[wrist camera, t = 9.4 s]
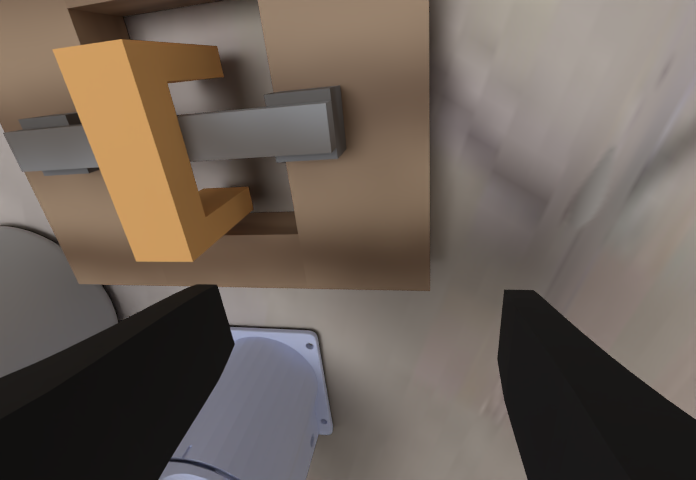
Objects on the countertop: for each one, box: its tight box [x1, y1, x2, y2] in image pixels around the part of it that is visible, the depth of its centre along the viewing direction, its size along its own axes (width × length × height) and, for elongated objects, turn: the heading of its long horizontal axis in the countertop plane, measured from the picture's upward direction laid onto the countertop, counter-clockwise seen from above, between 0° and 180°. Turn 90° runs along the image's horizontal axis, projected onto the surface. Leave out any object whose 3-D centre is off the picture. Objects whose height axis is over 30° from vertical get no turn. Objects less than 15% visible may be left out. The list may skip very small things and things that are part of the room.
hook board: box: [0, 0, 430, 291], centre depth 16 cm, size 16×20×6 cm
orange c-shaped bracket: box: [52, 39, 253, 262], centre depth 15 cm, size 7×2×6 cm, turn 6°
